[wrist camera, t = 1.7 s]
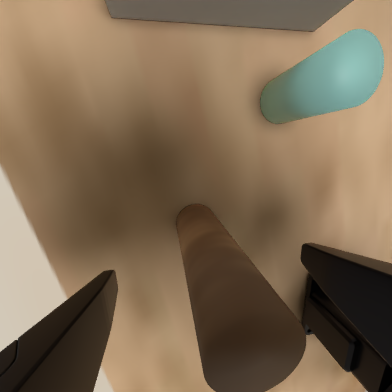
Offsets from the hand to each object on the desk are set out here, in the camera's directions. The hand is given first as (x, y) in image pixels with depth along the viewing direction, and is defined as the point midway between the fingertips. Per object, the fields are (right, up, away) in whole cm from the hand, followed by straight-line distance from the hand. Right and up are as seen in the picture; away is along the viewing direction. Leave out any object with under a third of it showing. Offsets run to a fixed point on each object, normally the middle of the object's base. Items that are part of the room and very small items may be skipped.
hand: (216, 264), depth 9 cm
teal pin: (+5, +10, +4) cm, 11 cm away
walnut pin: (-1, +1, +5) cm, 5 cm away
